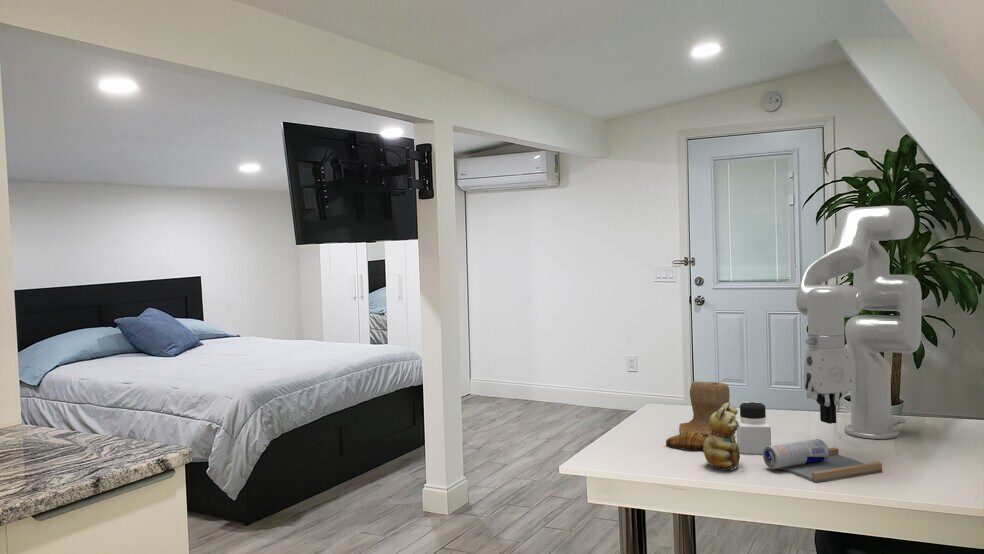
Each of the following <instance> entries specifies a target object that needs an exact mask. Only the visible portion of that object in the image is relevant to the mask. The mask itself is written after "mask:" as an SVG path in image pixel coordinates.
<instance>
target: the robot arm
mask: <svg viewBox="0 0 984 554" xmlns="http://www.w3.org/2000/svg"><path fill="white" fill-rule="evenodd" d="M838 217H839V218H838V219H837V223H836V225H835V226H836V227H835V230H834V234H833V237H832V240H831V244H830V248H829V251H827V252H826V253H824V254H822V255H821V256H820V257H818V258H817V259H816V260H814V261H813V262H812V263H810V264H809V266H808V267H806V269H805V270H804V272H803V273H802V276H801V278H800V282H799V285H798V288H797V292H796V298H795V302H796V308H797V310H798V312H799V313H800V314H802V315H804V316H806V317H807V336H808V337H807V339H805V344H806V345H808V348H806V352H805V357H804V367H803V384H804V389H805V390H806V398H807V399H812V400H815V401H816V403H817V404H818V405H819V416H820V417H819V419H820V422H822V423H826V424H829V425H833V424H836V423H837V406H838V405H839V401H840V400H841V398H842V397H844V396H847V395H848V394H849V392H850V421H851V422H850V424H848V425H846V426H844V431H845V433H846V434H848V435H849V436H853V437H857V438H863V439H874V440H886V439H887V440H888V439H893V438H896V437H899V430H898V429H897V428H895V426H896V425H903V424H905V422H906V418H905V417H904V416H902V415H901V416H894V415H892V396H891V392H892V391H891V390H892V389H891V388H892V387H891V368H890V366H889V363H888V362H887V361H886V359H885V358H884V357H883V355H882V354H881V353H896V354H897V353H900V354H901V353H902V354H912V353H915V352H917V351H918V350H919V348H920V346H921V340H922V339H921V338H922V307H923V306H922V305H923V304H922V303H923V299H922V298H923V297H922V287H921V284H920V281H919V280H918V278H916V277H915V276H914V275H911V274H910V275H909V274H890V262H891V261H890V260H891V259H890V255H889V253H888V252H887V250H886V249H885V248H884V247H883V246H882V245H881V244H880V242H878V241H885V240H886V241H889V240H905V239H907V238H909V237H910V236H911V235H912V233H913V232H914V228H915V216H914V213H913V212H912V209H911V208H910V207H908V206H906V205H880V206H878V205H876V206H862V207H853V208H849V209H846V210H844V211H843V212H842V213H841V214H840V216H838ZM851 272H853V281H852V282H853V284H852V285H849V284H823V283H826V282H827V281H829V280H831V279H834V278H836V277H841V276H843V275H846V274H849V273H851ZM862 310H866V311H880V312H881V311H883V312H886V311H890V312H892V311H894V312H899V313H900V315H882V314H881V315H880V314H875V315H874V314H861V315H859V314H860V312H861V311H862ZM845 318H849V319H848V320H847V321H846V323H845ZM845 343H846V344H847V347H846V346H845V345H846V344H845Z"/></svg>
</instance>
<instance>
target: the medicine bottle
mask: <svg viewBox="0 0 984 554" xmlns="http://www.w3.org/2000/svg"><path fill="white" fill-rule="evenodd" d="M766 416H767V413H766V405H765V404H763V403H761V402H758V401H745V402H743V403H741V404H739V418H738V419H737V418H736V420H737V422H738V424H739V426H738V428H737V430H736V443H737V444H738V445H739V451H740V455H763V450H764V448H765V447H767V446H772V441H771V440H772V438H771V437H772V435H771V425H770V424H769V423H768V421H767V417H766Z"/></svg>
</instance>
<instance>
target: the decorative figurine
mask: <svg viewBox="0 0 984 554" xmlns="http://www.w3.org/2000/svg"><path fill="white" fill-rule="evenodd" d="M730 405H731V403H730V402H729V403H725V404H723V405H722V407H721V408H720V409H719V410H718V411H717V412H714V413H713V414H712V415H711V417H710V419H709V425H710V427H711V429H712V430H711V431H710V435H709V436H708V437H707V438H706V440H705V443H704V448H703V450H702V451H703V455H704V458H705V460H706V462H707V463H709V464H710V465H711V468H712V469H718V470H722V469H723V470H724V471H728V470H732V471H733V469H734V470H735V469H736V468H737V467H738V466H739V465H738V464H739V463H740V458H741V452H740V450H739V445H738V444H737V440H736V438H735V437H734V435H733V433H734V432H735V433H736V432H737V428H738V426H739V424H738V422H737V418H736V415H737V414H738V411H739V410H738V409H737V408H736V407H734V406H730ZM737 465H738V466H737ZM736 466H737V467H736ZM735 467H736V468H735ZM723 470H722V471H723Z"/></svg>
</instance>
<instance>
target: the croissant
mask: <svg viewBox="0 0 984 554" xmlns="http://www.w3.org/2000/svg"><path fill="white" fill-rule="evenodd" d="M706 438H707V437H705V436H702V435H701V434H699V433H697V432H695V431H692V430H691V431H688V432H685V433H683V434H681V435H680V434H677V435H676V434H675V435H674V436H671V437H669V438H667V439H665V440H666V441H665V445H666V446H667V447H669V448H674V449H679V450H680V449H682V450H688V451H703V448H704V443H705V440H706Z"/></svg>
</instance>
